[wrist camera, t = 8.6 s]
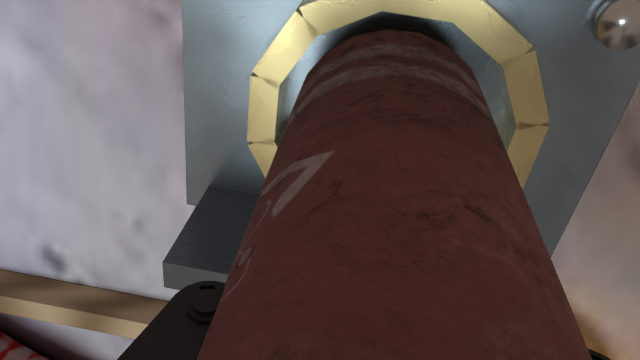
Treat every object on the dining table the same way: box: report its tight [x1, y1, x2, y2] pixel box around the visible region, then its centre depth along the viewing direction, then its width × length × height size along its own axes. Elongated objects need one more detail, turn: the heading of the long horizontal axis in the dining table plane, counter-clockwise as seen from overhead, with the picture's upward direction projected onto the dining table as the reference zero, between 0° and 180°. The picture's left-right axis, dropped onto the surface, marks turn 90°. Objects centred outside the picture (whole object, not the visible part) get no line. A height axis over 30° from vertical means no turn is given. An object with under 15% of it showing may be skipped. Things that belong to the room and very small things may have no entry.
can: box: [197, 29, 592, 360], centre depth 11 cm, size 6×6×14 cm
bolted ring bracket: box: [163, 0, 640, 290], centre depth 18 cm, size 16×12×9 cm
